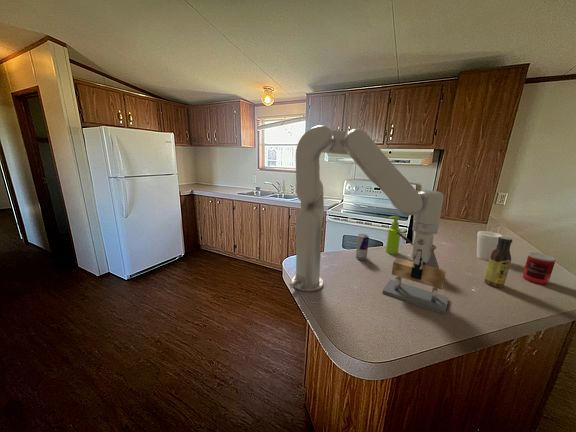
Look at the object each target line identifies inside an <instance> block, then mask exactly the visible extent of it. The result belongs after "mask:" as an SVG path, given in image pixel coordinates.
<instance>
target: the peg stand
mask: <svg viewBox="0 0 576 432" xmlns="http://www.w3.org/2000/svg"><path fill="white" fill-rule="evenodd" d="M394 279H395V280H392V279H389V280H388V281H387V283H386V284H385V285H384V288H383V289H382V294H384V295H388V296H390V297H394V298H397V299H399V300H402V301H405V302H408V303H411V304H414V305H417V306H420V307H423V308H425V309H428V310H432V311H434V312H437V313H441V314H443V315H446V312H447V307H448V301H449V297H448V296H445V295H442V294H439V289H438V288H435V287H432V290H431V291H429V290H426V289H424V288H419V287H417V286H412V285H409V284H407V283H403V282H402V279H403V278H402V277H399V276H395V278H394Z"/></svg>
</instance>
